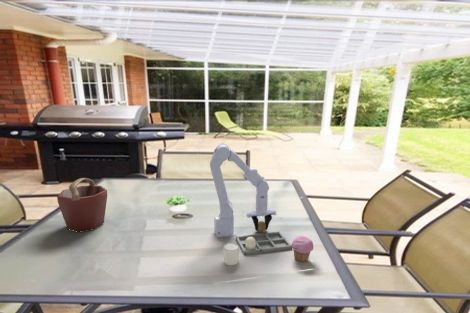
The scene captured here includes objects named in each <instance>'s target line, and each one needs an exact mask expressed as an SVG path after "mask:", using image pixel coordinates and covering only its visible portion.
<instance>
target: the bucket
mask: <svg viewBox="0 0 470 313" xmlns="http://www.w3.org/2000/svg"><path fill="white" fill-rule="evenodd" d="M83 181H85V182H87V183H88V184H89V185H80V186H79V184H80V183H81V182H83ZM56 200H57V205H58V206H59V209H60V212H61V214H62V217H63V220H64V223H65V226H66V228H67V230H68V229H70V230H74V231H77V232H76V233H78V232H80V231H85V232H87V231H86V230H91V229H95V228H97V227H98V228H100V227H101V226H102V224H103V223H104V224H105V217H106V210H107V209H106V208H107V200H108V190H107V189H106V187H104V186H102V185H96V184H95V182H94V180H93V179H90V178H87V177H80V178H78V179H76V180H74V181H73V182H72V183H71V184H70V185H69V186H68V188H67V189H63V190H62V191H60V193H59V194H58V195H57V196H56ZM104 224H103V225H104ZM100 225H101V226H100ZM99 226H100V227H99ZM98 228H97V229H98ZM70 230H69V231H70ZM95 230H96V229H95ZM74 231H73V232H74ZM91 231H92V230H91ZM80 233H81V232H80Z"/></svg>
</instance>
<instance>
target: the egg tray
mask: <svg viewBox="0 0 470 313" xmlns="http://www.w3.org/2000/svg"><path fill="white" fill-rule="evenodd" d="M248 237H253V238H254V239H255V241H256V249H255V250H247V251H246V239H247V238H248ZM235 241H236V244H237V245H239V249H240V250H241V252H242V253H243V255H244V256H247V255H248V256H250V255H255V254H264V253H265V254H266V253H272V252H279V251H280V252H281V251H288V250H293V248H292V246H291V245H292V243H290V242H289V240H287V238H286V237H285V236H284V234H282V233H281V231H273V232H272V231H271V232H265V233H256V234H248V235H247V234H246V235H238V236H237V235H235Z"/></svg>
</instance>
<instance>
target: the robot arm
mask: <svg viewBox="0 0 470 313" xmlns="http://www.w3.org/2000/svg"><path fill="white" fill-rule="evenodd" d="M225 161H228V162H233V163H235V165H236V166H238V168H240V170H241V171H243V172H244V177H245V178H246V180H248V181H249V183H251V185H252V186H255V188H256V192H255V210H253V211H250V212H246V217H247V219H250V218H251V219H252V222H253V224H254V229H255V230H254V231H256V232H257V231H258V222H259V218H258V217H263V218H264V222H265V224H266V231H267V230H268V228H269V224H270V223H271V220H272V219H273V216H277V211H276V210H275V209H272V210H270V209H268V200H269V199H268V196H269V195H268V191H269V189H270V185H269V183H268V182H267V180H266V179H265V177H264V176H261V175H260V173H259V172H258V170H257V168H254V167H250V166H248V164H247V163H246V162H245V161H244V160H243V159H242V158H241V157H240V156H239V155H238V153H237V152H236V151H234V150H233V149H232V148H231V147H229V146H228V144H225V143H220V144H218V145H217V146H216V148H214V151H213V154H212V156H211V159H210V161H209V168H210V172H211V175H212V178H213V182H214V186H215V190H216V194H217V197H218V202H219V211H220V212H219V215H218V216H214V223H213V225H214V230H213V231H214V233H215V236H216V238H221V237H229V236H230V237H231V236H237V233H236V232H235V227H234V226H235V224H234V223H235V222H234V221H235V220H234V219H235V216H234V210H233V203H232V202H231V201H230V199H229V196H228V191H227V188H226V185H225V184H226V183H225V181H224V177H223V174H222V170H221V166H222V165H223V163H224V162H225ZM272 215H273V216H272Z"/></svg>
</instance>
